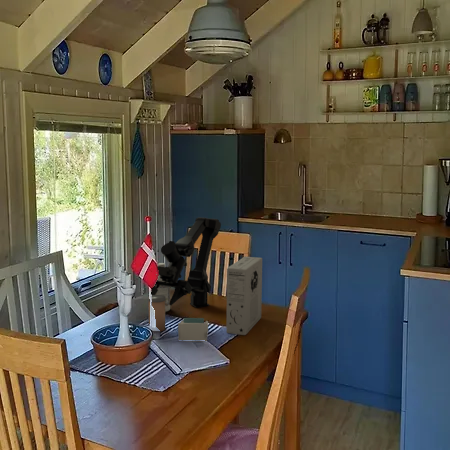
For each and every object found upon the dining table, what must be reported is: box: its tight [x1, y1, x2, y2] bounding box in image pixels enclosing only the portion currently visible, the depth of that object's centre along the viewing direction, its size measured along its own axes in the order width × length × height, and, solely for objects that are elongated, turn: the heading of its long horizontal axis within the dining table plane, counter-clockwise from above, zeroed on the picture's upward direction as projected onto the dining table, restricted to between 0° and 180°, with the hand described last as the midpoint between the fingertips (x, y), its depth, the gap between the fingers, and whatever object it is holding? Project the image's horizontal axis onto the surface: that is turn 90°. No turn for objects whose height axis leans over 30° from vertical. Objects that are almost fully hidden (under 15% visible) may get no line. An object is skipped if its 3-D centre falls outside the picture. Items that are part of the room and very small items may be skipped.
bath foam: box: [156, 262, 171, 313], centre depth 231 cm, size 7×7×20 cm
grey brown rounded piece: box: [147, 295, 166, 332], centre depth 208 cm, size 7×7×12 cm
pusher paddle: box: [183, 317, 205, 323], centre depth 202 cm, size 2×7×5 cm, turn 89°
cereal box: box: [226, 256, 263, 336], centre depth 212 cm, size 22×8×25 cm, turn 160°
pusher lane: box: [177, 320, 209, 342], centre depth 202 cm, size 12×10×6 cm
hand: (159, 303), depth 210 cm, fingers open, 9 cm apart
